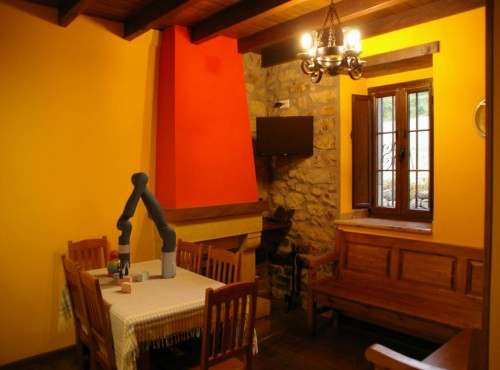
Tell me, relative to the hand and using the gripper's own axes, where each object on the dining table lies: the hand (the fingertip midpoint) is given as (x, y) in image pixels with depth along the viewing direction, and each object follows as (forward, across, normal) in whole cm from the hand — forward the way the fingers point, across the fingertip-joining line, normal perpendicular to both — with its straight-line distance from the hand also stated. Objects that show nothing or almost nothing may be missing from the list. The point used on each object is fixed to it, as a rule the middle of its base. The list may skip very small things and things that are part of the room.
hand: (123, 277), depth 255 cm
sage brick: (+5, +11, -8) cm, 15 cm away
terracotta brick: (+5, 0, -1) cm, 5 cm away
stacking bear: (+5, +21, +16) cm, 27 cm away
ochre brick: (+5, -14, -9) cm, 17 cm away
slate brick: (+5, +7, +5) cm, 10 cm away
